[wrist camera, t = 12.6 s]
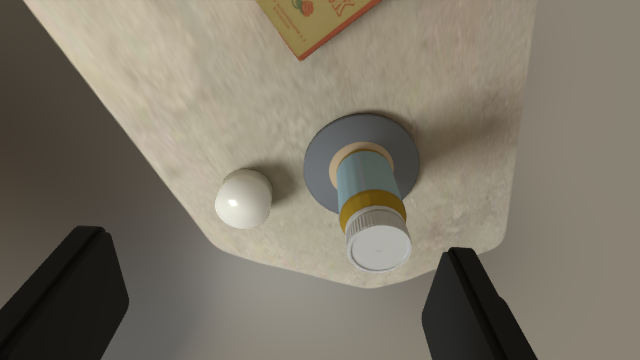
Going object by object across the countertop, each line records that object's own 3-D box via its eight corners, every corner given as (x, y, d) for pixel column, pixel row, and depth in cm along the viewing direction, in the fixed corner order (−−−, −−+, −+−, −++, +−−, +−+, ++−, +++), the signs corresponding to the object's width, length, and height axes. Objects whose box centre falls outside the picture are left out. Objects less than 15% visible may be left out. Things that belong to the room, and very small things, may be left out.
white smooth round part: (220, 166, 48) (212, 182, 45) (273, 170, 48) (269, 186, 45) (223, 209, 52) (216, 227, 48) (272, 212, 52) (269, 230, 48)
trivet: (307, 108, 44) (307, 112, 43) (429, 117, 44) (431, 121, 43) (300, 209, 51) (300, 213, 50) (404, 215, 52) (406, 220, 51)
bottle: (328, 157, 46) (331, 234, 33) (381, 139, 45) (406, 211, 32) (346, 199, 49) (355, 283, 36) (396, 183, 48) (424, 265, 35)
